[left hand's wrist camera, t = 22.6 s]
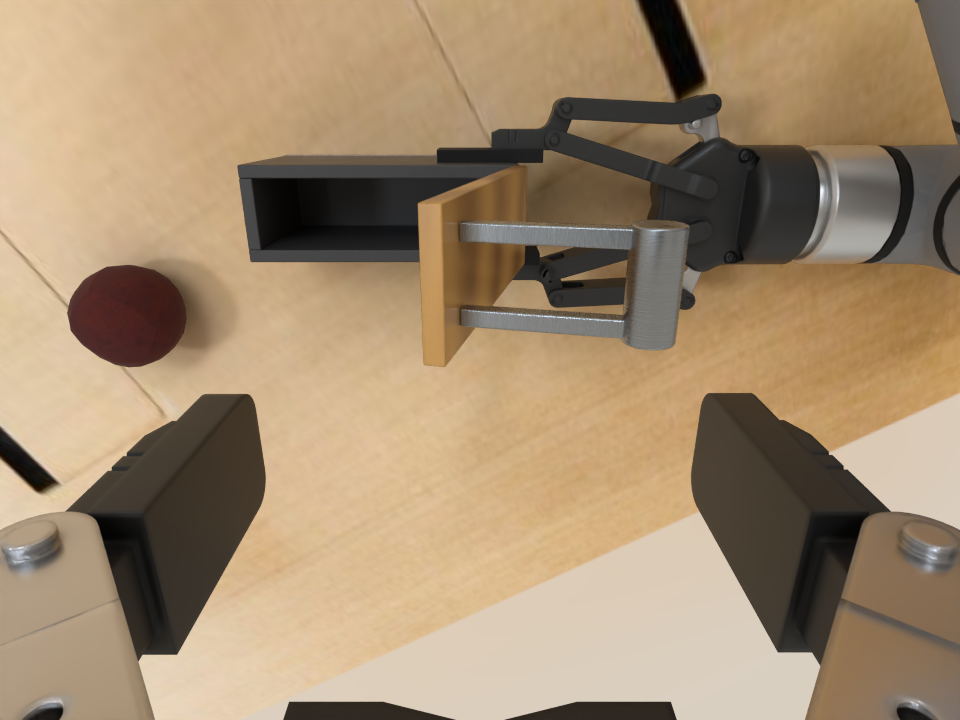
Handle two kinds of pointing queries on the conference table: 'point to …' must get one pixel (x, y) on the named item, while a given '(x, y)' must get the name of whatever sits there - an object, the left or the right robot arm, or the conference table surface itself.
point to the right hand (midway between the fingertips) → (440, 206)
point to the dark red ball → (127, 315)
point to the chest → (345, 204)
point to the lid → (501, 254)
